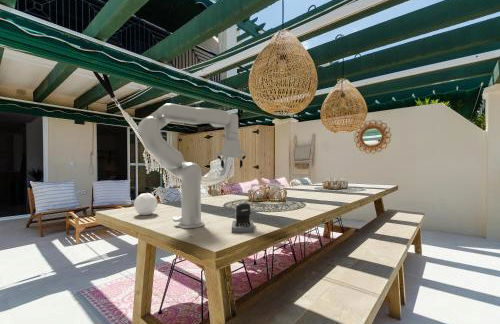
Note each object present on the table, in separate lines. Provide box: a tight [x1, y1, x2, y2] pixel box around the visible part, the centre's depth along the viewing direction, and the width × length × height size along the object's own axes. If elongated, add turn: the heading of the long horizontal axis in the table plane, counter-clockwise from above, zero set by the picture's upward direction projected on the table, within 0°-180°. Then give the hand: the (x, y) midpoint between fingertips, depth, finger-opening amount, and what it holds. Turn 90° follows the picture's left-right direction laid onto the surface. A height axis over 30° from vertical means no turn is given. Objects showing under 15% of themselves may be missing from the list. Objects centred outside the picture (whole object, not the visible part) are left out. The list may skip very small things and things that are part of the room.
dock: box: [231, 219, 255, 234], centre depth 124 cm, size 10×13×2 cm
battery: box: [234, 202, 252, 227], centre depth 123 cm, size 7×4×11 cm, turn 115°
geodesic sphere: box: [133, 192, 158, 216], centre depth 158 cm, size 14×14×14 cm
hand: (231, 167), depth 143 cm, fingers open, 9 cm apart
